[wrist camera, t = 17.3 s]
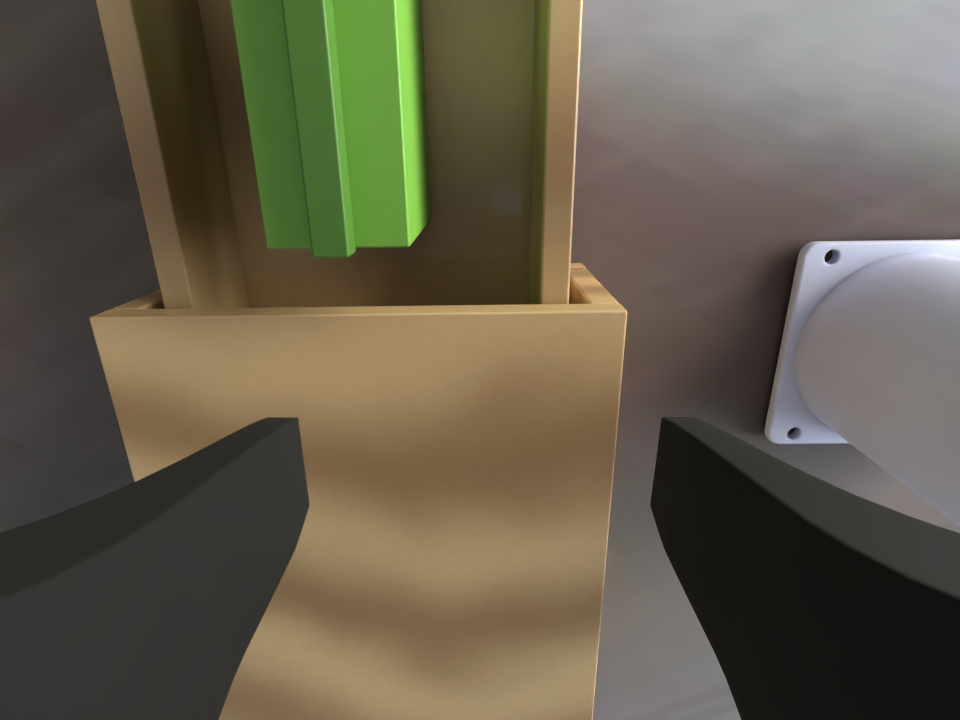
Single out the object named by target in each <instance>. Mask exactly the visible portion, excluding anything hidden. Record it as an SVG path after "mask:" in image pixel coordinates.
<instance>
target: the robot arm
mask: <svg viewBox="0 0 960 720" xmlns="http://www.w3.org/2000/svg"><path fill="white" fill-rule="evenodd" d="M829 250H832V251H833V256H832V258H831V259H830V260H829V261H828V262H825V260H824V257H825V255H826V253H827V252H828V251H829ZM791 428H795V430H794V432H793V433H791V434H788V435H787V433H788V431H789V430H790V429H791ZM765 435H766V437H767V438H768V439H769V440H770V441H771V442H773V443H775V444H825V443H850V444H851V445H852V446H854V447H855V448H856V449H858V450H859V451H860V452H862V453H863V454H864V455H865V456H867V457H868V458H869V459H871V460H872V461H873V462H874V463H876V464H877V465H878V466H880V467H881V468H882V469H883V470H885V471H886V472H887V473H889V474H890V475H891V476H893V477H894V478H895V479H896V480H898V481H899V482H900V483H902V484H903V485H904V486H905V487H907V488H908V489H909V490H911V491H912V492H913V493H914V494H916V495H917V496H918V497H920V498H921V499H922V500H924V501H925V502H926V503H927V504H929V505H930V506H931V507H933V508H934V509H935V510H936V511H938V512H939V513H940V514H942V515H943V516H944V517H945V518H947V519H948V520H949V521H951V522H952V523H953V524H955V525H956V526H957V527H958V528H960V240H885V241H814V242H810V243H808V244H806V245H804V246H803V248H802V249H801V250H800V252H799V255H798V259H797V264H796V269H795V274H794V280H793V285H792V290H791V295H790V300H789V306H788V311H787V316H786V321H785V326H784V331H783V337H782V342H781V347H780V352H779V357H778V362H777V368H776V373H775V378H774V383H773V388H772V394H771V399H770V404H769V409H768V414H767V419H766V425H765ZM309 505H310V504H309V497H308V489H307V481H306V474H305V466H304V458H303V451H302V443H301V436H300V428H299V420H298V417H267V418H264V419H262V420H259V421H256V422H254V423H252V424H250V425H248V426H246V427H244V428H241V429H239V430H237V431H236V432H234V433H232V434H230V435H228V436H226V437H224V438H222V439H220V440H218V441H216V442H214V443H212V444H210V445H209V446H207V447H205V448H203V449H201V450H199V451H197V452H195V453H193V454H191V455H189V456H187V457H186V458H184V459H182V460H180V461H178V462H175V463H173V464H171V465H169V466H167V467H165V468H163V469H161V470H159V471H157V472H155V473H153V474H150V475H148V476H146V477H144V478H142V479H140V480H138V481H136V482H134V483H132V484H130V485H127V486H125V487H123V488H121V489H118V490H116V491H114V492H111V493H109V494H107V495H104V496H102V497H100V498H97V499H95V500H92V501H90V502H87V503H85V504H82V505H79V506H77V507H74V508H72V509H69V510H67V511H64V512H62V513H59V514H56V515H53V516H51V517H48V518H45V519H42V520H39V521H36V522H33V523H30V524H27V525H24V526H21V527H18V528H15V529H12V530H9V531H6V532H3V533H0V720H219V717H220V714H221V712H222V709H223V706H224V703H225V701H226V698H227V695H228V693H229V690H230V687H231V685H232V682H233V679H234V677H235V675H236V672H237V670H238V668H239V666H240V663H241V661H242V659H243V656H244V654H245V652H246V650H247V648H248V646H249V644H250V642H251V640H252V638H253V636H254V634H255V632H256V630H257V628H258V625H259V623H260V621H261V619H262V617H263V615H264V613H265V611H266V609H267V607H268V605H269V603H270V601H271V599H272V597H273V595H274V593H275V591H276V589H277V587H278V585H279V583H280V581H281V579H282V576H283V574H284V572H285V570H286V568H287V566H288V564H289V562H290V560H291V558H292V555H293V553H294V551H295V549H296V546H297V543H298V540H299V537H300V534H301V531H302V528H303V525H304V522H305V518H306V515H307V512H308V509H309ZM650 505H651V509H652V512H653V515H654V518H655V522H656V525H657V528H658V531H659V534H660V537H661V540H662V543H663V546H664V549H665V551H666V553H667V555H668V558H669V560H670V562H671V564H672V566H673V568H674V570H675V572H676V574H677V576H678V579H679V581H680V583H681V585H682V587H683V589H684V591H685V593H686V595H687V597H688V599H689V601H690V603H691V605H692V607H693V609H694V611H695V613H696V615H697V617H698V619H699V621H700V623H701V626H702V628H703V630H704V632H705V634H706V636H707V638H708V640H709V642H710V644H711V646H712V648H713V650H714V652H715V654H716V656H717V659H718V661H719V663H720V666H721V668H722V670H723V672H724V675H725V677H726V679H727V682H728V685H729V687H730V690H731V693H732V695H733V698H734V701H735V703H736V706H737V709H738V712H739V714H740V717H741V720H960V533H957V532H954V531H951V530H948V529H945V528H942V527H938V526H936V525H933V524H930V523H927V522H924V521H921V520H918V519H915V518H913V517H910V516H907V515H905V514H902V513H899V512H897V511H894V510H892V509H889V508H886V507H884V506H881V505H879V504H876V503H874V502H871V501H868V500H866V499H863V498H861V497H858V496H856V495H854V494H851V493H849V492H847V491H844V490H842V489H840V488H838V487H835V486H833V485H831V484H829V483H827V482H825V481H822V480H820V479H818V478H816V477H814V476H812V475H809V474H807V473H805V472H803V471H801V470H799V469H797V468H795V467H793V466H791V465H789V464H787V463H785V462H783V461H781V460H779V459H777V458H775V457H773V456H771V455H769V454H767V453H765V452H763V451H761V450H759V449H757V448H756V447H754V446H752V445H750V444H748V443H746V442H744V441H742V440H740V439H738V438H736V437H735V436H733V435H731V434H729V433H727V432H725V431H723V430H721V429H719V428H717V427H715V426H713V425H711V424H708V423H706V422H704V421H702V420H699V419H696V418H693V417H662V420H661V428H660V436H659V443H658V451H657V458H656V466H655V474H654V481H653V489H652V496H651V504H650Z"/></svg>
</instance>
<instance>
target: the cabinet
mask: <svg viewBox="0 0 960 720" xmlns="http://www.w3.org/2000/svg"><path fill="white" fill-rule="evenodd" d="M626 322H627V311H626V310H625V308H624V307H623V306H622V305H621V304H619V303H618V302H617V301H616V300H615V299H614V298H613V297H612V295H611V294H610V293H609V292H608V291H607V290H606V289H605V288H604V287H603V286H602V285H601V284H600V283H599V282H598V281H597V280H596V279H595V278H594V277H593V276H592V274H591V273H590V272H589V271H588V270H587V269H586V268H585V267H584V266H583V265H582V264H581V263H571V268H570V290H569V304H526V305H444V306H362V307H280V308H198V309H165V308H164V303H163V299H162V295H161V290H160V289H159V290H156V291H154V292H151V293H149V294H146V295H144V296H142V297H139V298H137V299H134V300H132V301H129V302H127V303H125V304H122V305H120V306H117V307H115V308H113V309H111V310H107V311H104V312H102V313H99V314H97V315H95V316H92V317H90V323H91V327H92V330H93V334H94V338H95V341H96V345H97V349H98V352H99V356H100V359H101V363H102V367H103V370H104V374H105V377H106V381H107V385H108V388H109V392H110V396H111V399H112V403H113V406H114V410H115V414H116V417H117V421H118V424H119V428H120V432H121V435H122V439H123V443H124V446H125V450H126V453H127V457H128V461H129V464H130V468H131V472H132V475H133V479H134V482H136V481H138V480H140V479H142V478H144V477H146V476H148V475H150V474H153V473H155V472H157V471H159V470H161V469H163V468H165V467H167V466H169V465H171V464H173V463H175V462H178V461H180V460H182V459H184V458H186V457H187V456H189V455H191V454H193V453H195V452H197V451H199V450H201V449H203V448H205V447H207V446H209V445H210V444H212V443H214V442H216V441H218V440H220V439H222V438H224V437H226V436H228V435H230V434H232V433H234V432H236V431H237V430H239V429H241V428H244V427H246V426H248V425H250V424H252V423H254V422H256V421H259V420H262V419H264V418H267V417H298V420H299V428H300V436H301V443H302V451H303V458H304V466H305V474H306V481H307V489H308V497H309V504H310V505H309V509H308V512H307V515H306V518H305V522H304V525H303V528H302V531H301V534H300V537H299V540H298V543H297V546H296V549H295V551H294V553H293V555H292V558H291V560H290V562H289V564H288V566H287V568H286V570H285V572H284V574H283V576H282V579H281V581H280V583H279V585H278V587H277V589H276V591H275V593H274V595H273V597H272V599H271V601H270V603H269V605H268V607H267V609H266V611H265V613H264V615H263V617H262V619H261V621H260V623H259V625H258V628H257V630H256V632H255V634H254V636H253V638H252V640H251V642H250V644H249V646H248V648H247V650H246V652H245V654H244V656H243V659H242V661H241V663H240V666H239V668H238V670H237V672H236V675H235V677H234V679H233V682H232V685H231V687H230V690H229V693H228V695H227V698H226V701H225V703H224V706H223V709H222V712H221V714H220V717H219V720H592V718H593V706H594V695H595V683H596V671H597V660H598V648H599V636H600V625H601V613H602V602H603V590H604V578H605V567H606V555H607V543H608V532H609V520H610V508H611V497H612V485H613V474H614V462H615V450H616V439H617V427H618V415H619V404H620V392H621V380H622V369H623V357H624V346H625V334H626Z"/></svg>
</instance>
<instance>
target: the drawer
mask: <svg viewBox="0 0 960 720" xmlns="http://www.w3.org/2000/svg"><path fill="white" fill-rule="evenodd" d="M96 4H97V9H98V13H99V18H100V22H101V27H102V31H103V36H104V40H105V45H106V49H107V54H108V58H109V62H110V67H111V71H112V76H113V80H114V85H115V89H116V94H117V98H118V103H119V107H120V112H121V116H122V120H123V125H124V129H125V134H126V138H127V143H128V147H129V152H130V156H131V161H132V165H133V170H134V174H135V179H136V183H137V187H138V192H139V196H140V201H141V205H142V210H143V214H144V219H145V223H146V228H147V232H148V237H149V241H150V245H151V250H152V254H153V259H154V263H155V268H156V272H157V277H158V281H159V286H160V290H161V295H162V299H163V303H164V308H165V309H198V308H280V307H362V306H444V305H526V304H569V290H570V268H571V247H572V225H573V203H574V182H575V160H576V139H577V117H578V96H579V74H580V53H581V31H582V9H583V0H422V19H423V43H424V66H425V89H426V112H427V135H428V159H429V182H430V205H431V220H430V221H429V222H428V224H427V225H426V226H425V227H424V229H423V230H422V231H421V233H420V234H419V235H418V236H417V238H416V239H415V240H414V241H413V243H412V244H411V245H410V246H409V247H382V248H356V251H355V253H354V254H352V255H351V256H350V257H348V258H314V257H313V256H312V250H311V248H303V249H269V248H267V244H266V237H265V230H264V223H263V217H262V210H261V203H260V197H259V190H258V183H257V177H256V170H255V163H254V156H253V150H252V143H251V136H250V130H249V123H248V116H247V110H246V103H245V96H244V89H243V83H242V76H241V69H240V63H239V56H238V49H237V43H236V36H235V29H234V23H233V16H232V9H231V2H230V0H96Z"/></svg>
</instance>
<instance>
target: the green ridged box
mask: <svg viewBox="0 0 960 720" xmlns="http://www.w3.org/2000/svg"><path fill="white" fill-rule="evenodd" d="M230 2H231V9H232V16H233V23H234V29H235V36H236V43H237V49H238V56H239V63H240V69H241V76H242V83H243V89H244V96H245V103H246V110H247V116H248V123H249V130H250V136H251V143H252V150H253V156H254V163H255V170H256V177H257V183H258V190H259V197H260V203H261V210H262V217H263V223H264V230H265V237H266V244H267V248H269V249H303V248H311V250H312V256H313V257H314V258H348V257H350V256H351V255H352V254H354V253H355V251H356V248H382V247H409V246H410V245H411V244H412V243H413V241H414V240H415V239H416V238H417V236H418V235H419V234H420V233H421V231H422V230H423V229H424V227H425V226H426V225H427V224H428V222H429V221H430V220H431V205H430V182H429V159H428V135H427V112H426V89H425V66H424V43H423V19H422V0H230Z"/></svg>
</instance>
